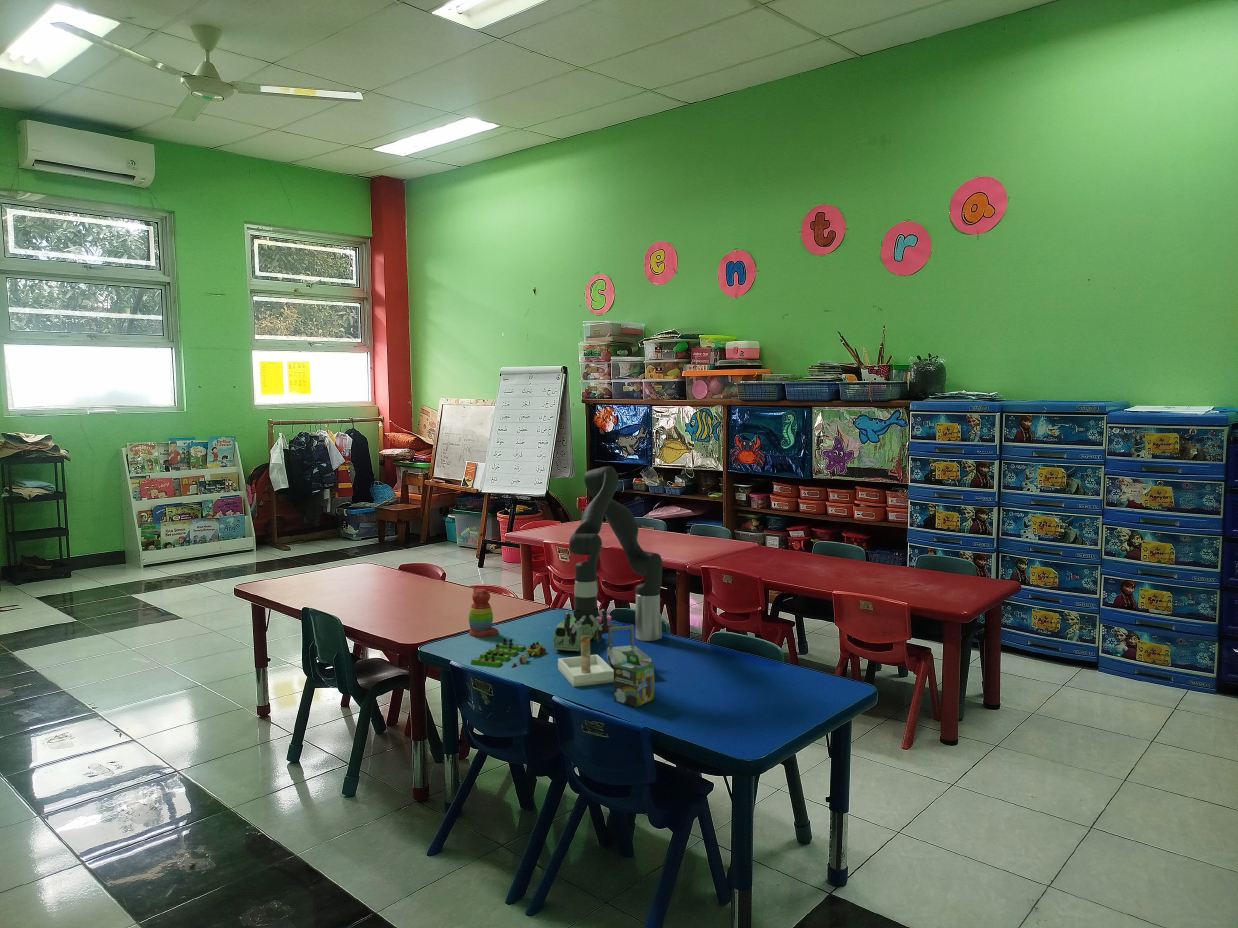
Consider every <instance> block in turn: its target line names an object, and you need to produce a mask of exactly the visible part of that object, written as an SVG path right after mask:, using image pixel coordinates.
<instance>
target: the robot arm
mask: <svg viewBox="0 0 1238 928" xmlns="http://www.w3.org/2000/svg"><path fill="white" fill-rule="evenodd" d="M583 480H584V481H583V482H584V485H585V487H586V489H587V491H588V493H589V495H590V497H591V498H592V500H591V501H590V502H588V503H589V504H587V506H586V507H585V509H584V511H583V512H582V517H581V520H580V522H579V523H580V524H578V526H577V527H576V529H575V530H574V532H573V533H572V534H571V536H570V539H569V542H568V548H569V550H570V552H571V553H572V554H573V555H575V556H576V555H577V556H589V559H588V560H584V561H579V562H576V564H575V565H574V589H573V590H574V591H573V593H574V597H573V598H574V599H573V600H574V601H573V602H574V611H572V612H568V611H566V612H564V619H565V620H564V619H563V620H564V629H565V630H566V631H567V632H570V641H571V642H572V644H575V631H576V629H577V628H578V627H579V626H580V625H586V624H589V625H590V624H592V623H593V624H594V625H595V626H596V627H597V629H596V639H595V640H596V642H598V643H599V642H601V640H602V639H603V634H602V629H604V628H607V615H608V612H607V610H605V609H604V608H602V609H600V610H598V582H597V569H598V568H597V567H598V566H597V565H598V561H599V556H600V554H601V553H600V552H601V551H602V546H603V540H602V537H601V536H600V535H599V533H600V532H601V529H602V528H601V527H602V525H603V521H604V518H605V519H606V520H607V523H608V524H609V527H610V528H611V530H612V532H613V534H614V536H615V537H616V538H617V540H618V542H619V544H620V546H621V547H622V549H623V551H624V553H625V556H626V558H627V561H628V563H629V565H630V567H631V569H632V571H633V572H634V573H635V574H636V575H639V576H644V577H645V579H644V582H643V583H640V584H638V585H636V586H635V631H634V635H635V638H636V640H638V641H642V642H644V641H645V642H651V641H657V640H661V639H662V638H663V637H662V636H663V635H662V631H663V629H662V624H663V623H662V620H663V619H662V617H663V616H662V613H661V612H660V611H661V605H660V604H661V602H660V600H661V599H660V598H661V597H660V595H661V594H660V593H661V587H662V583H663V579H662V578H663V567H664V566H663V565H664V564H663V558H662V556H661V555H660V554H659V553H657V552H653V551H652V552H651V551H645V550H643V548H642V547H641V545H640V544H639V541H638V535H639V525H638V523H637V520H636V519H635V517H634V515H633V513H632V512H631V510H630V509H629V508H628V507H626V506H625V505H623V504H621V503H620V502H618V501H616V500H615V499H613V497H614V495H615V493H616V491H617V488H618V485H619V476H618V473H617V471H616V469H615V468H614V466H611V465H610V466H609V465H608V466H601V467H599V468H594V469H591V470H590V469H589V470H587V471H586V472H585V473H584V475H583ZM573 616H574V617H575V620H574V622H573V624H572V626H571V627H570V620H571V619H572V617H573ZM596 617H601V619H602V624H601V625H600V624H599V623H598V622H597V620H596Z"/></svg>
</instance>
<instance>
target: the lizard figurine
mask: <svg viewBox="0 0 1238 928" xmlns="http://www.w3.org/2000/svg"><path fill="white" fill-rule="evenodd" d="M596 620H597V622H598V623H599V624H600V625H601V624H602V619H601V616H597V617H596ZM611 620H612V616H611V615H610V614H609V615H608V614H607V628H604V629H602V635H604V634H609V628H611V627H621V625H618V624H616V623H615V624H614V623H611V622H610V621H611Z"/></svg>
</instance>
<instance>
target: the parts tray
mask: <svg viewBox="0 0 1238 928" xmlns="http://www.w3.org/2000/svg"><path fill="white" fill-rule="evenodd" d="M557 669H558V671H560V673H561V674H562V676H563V677H565V679H566V680H567V681H568V682H569V683H570V684H571V686H572V687H573V688H575V687H582V686H591V685H593V686H594V685H600V684H609V683H614V668H613V667H610V666H609V665H608V662H606V661H605V660H604V659H603V657H601V656H600V655H599V654H590V670H591V672H590V673H587V674H584V673H582V672H581V655H580V656H579V655H578V656H571V657H561V658H560V657H559V658H557Z"/></svg>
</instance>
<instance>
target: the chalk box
mask: <svg viewBox="0 0 1238 928" xmlns="http://www.w3.org/2000/svg"><path fill="white" fill-rule="evenodd" d="M631 656H632V657H634V658H635V659H634V658H630V657H631ZM626 658H627V660H624V661H621V662H620V663H617V664H615V665H614V667H613V670H614V682H613V702H617V703H621V704H624V705H628V706H629V707H634V708H639V707H641V706H643V705H644V704H646V703H650V702H651V701H653V700H655V699H656V697H655V663H654V662H653V661H651V662H649V661H644V660H639V658H638V655H636V654H632V653H628V652H626Z"/></svg>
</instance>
